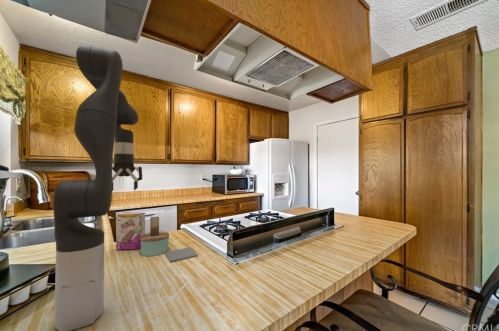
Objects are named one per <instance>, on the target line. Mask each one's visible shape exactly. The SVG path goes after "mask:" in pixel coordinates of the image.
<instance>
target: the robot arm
mask: <svg viewBox="0 0 499 331" xmlns="http://www.w3.org/2000/svg"><path fill="white" fill-rule="evenodd" d="M75 59H76V64H77V66H78V69H79V70H80V72H81V74H82V76H83V77H84V78H85V80H87V81H88V82H89V84H91V86H93V88H94V89H95V91H93V92H92V93H90V95H89V96H87V97H86V98H85V99H84V100H83V101H82V102H81V103H80V104H79V106H78V108H77V110H76V115H75V122H74V127H73V128H74V129H73V130H74V135H75V137H76V139H77V140H78V142H79V144H80V145H81V146H82V147H83V150H85V152H86V154H88V156H89V158H90V159H91V161H92V163H93V167H94V169H95V178H94V179H70V180H69V179H67V180H62V181H60V182H58V183H57V185H56V187H55V189H54V193H53V197H52V198H53V199H52V202H53V203H52V206H53V222H54V241H55V279H54V280H55V283H54V284H55V287H54V289H55V290H54V329H55V330H57V331H73V330H76V329H80V328H83V327H86V326H90V325H93V324H95V321H96V320H97V319H98V318H100V317H101V315H102V314H103V313H104V306H105V305H104V303H105V302H104V300H105V296H104V295H105V290H104V289H105V288H104V286H105V284H104V282H105V232H104V230H102V229H101V228H95V227H93V226H88V225H86V224H85V223H83V222H81V221H80V220H79V219H81V218H94V217H95V218H96V217H104V216H106V215H108V213H109V212H110V209H111V206H112V200H113V191H114V181H115V179H116V178H117V177H120V178H121V177H131V178H132V180H133V190H134V191H137V189H138V187H139V186H138V184H139V181H142V180H143V168H142V166H135V146H134V132H133V131H132V130H129V129H126V128H123V127H122V125H123V126H125V125H126V126H133V125H136V124H137V123H138V122H139V115H138V113H137V111H136V109H135V108H134V107H133V106H132V105H131V104H130V103H129V101H128V99H127V97H126V95H125V93H124V92H123V91H122V90H121V82H122V78H123V69H124V66H123V59H122V56H121V54H120V53H119V52H118V51H117V50H115V49H111V48H108V47H107V48H106V47H99V46H92V45H80V46H79V47H77V49H76V52H75ZM135 171H136V172H138V177H136V175H135V174H134V172H135ZM113 172H114V173H115V174H114V175H113Z"/></svg>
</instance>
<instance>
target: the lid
mask: <svg viewBox="0 0 499 331" xmlns="http://www.w3.org/2000/svg"><path fill="white" fill-rule="evenodd" d="M149 221H150V225H149V227H150V228H149V230H150V231H149V232H147V233H145V234H144V235H141V236H140V241H142V242H154V241H160V240H164V239H166V238H168V237H169V238H170V233H169V232H167V231H160V216H151V217H150V219H149Z"/></svg>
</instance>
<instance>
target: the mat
mask: <svg viewBox="0 0 499 331" xmlns="http://www.w3.org/2000/svg"><path fill="white" fill-rule="evenodd" d="M165 256H166V258H167V260H168V261H169V263H173V262H178V261H183V260H188V259H192V258H196V257H197V258H198V256H199V254H197V253H196V251H195V250H194V249H193V248H192V247H191V246H190V247H184V248H179V249H173V250H168V251H166V252H165Z"/></svg>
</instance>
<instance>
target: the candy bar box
mask: <svg viewBox="0 0 499 331" xmlns="http://www.w3.org/2000/svg"><path fill="white" fill-rule="evenodd" d="M115 225H116V231H115V233H116V234H115V235H116V237H115V238H116V240H115V242H116V243H115V251H124V250H125V251H127V250H126V249H134V250H136V251H137V250H139V251H140V242H141V241H140V236H141V235H144V234H146V212H143V211H142V212H140V211H139V212H137V211H136V212H135V211H134V212H130V211H129V212H127V211H126V212H120V213H117V214H116V224H115ZM134 250H133V251H134Z"/></svg>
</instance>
